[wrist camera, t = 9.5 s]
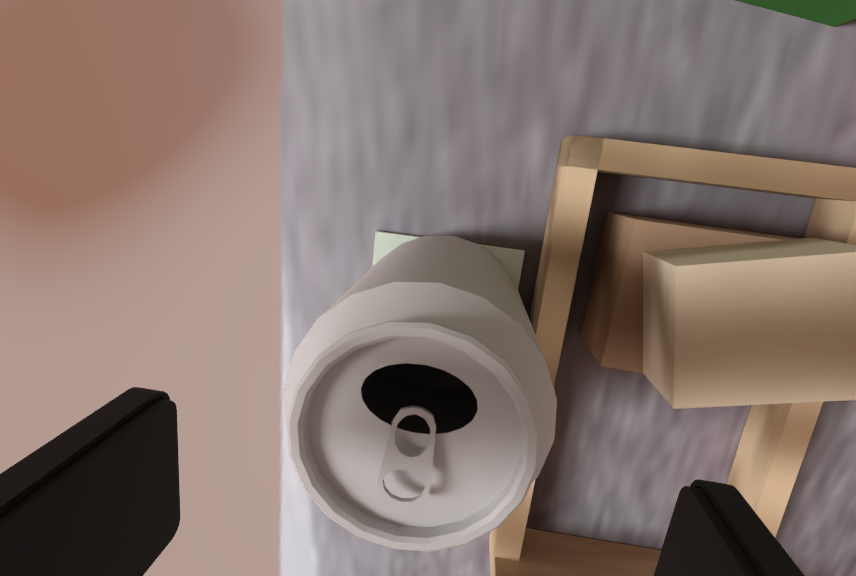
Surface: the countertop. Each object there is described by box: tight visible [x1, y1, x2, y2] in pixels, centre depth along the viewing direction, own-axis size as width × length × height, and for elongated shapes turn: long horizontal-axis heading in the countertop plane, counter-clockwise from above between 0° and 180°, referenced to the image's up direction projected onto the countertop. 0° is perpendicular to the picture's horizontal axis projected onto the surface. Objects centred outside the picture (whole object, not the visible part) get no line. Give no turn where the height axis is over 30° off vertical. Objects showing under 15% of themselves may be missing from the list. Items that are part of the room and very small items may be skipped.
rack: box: [489, 135, 856, 576], centre depth 20 cm, size 21×12×6 cm, turn 173°
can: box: [284, 235, 557, 551], centre depth 17 cm, size 8×8×12 cm
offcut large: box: [581, 212, 798, 373], centre depth 20 cm, size 6×8×4 cm
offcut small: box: [643, 237, 856, 409], centre depth 17 cm, size 5×6×3 cm
